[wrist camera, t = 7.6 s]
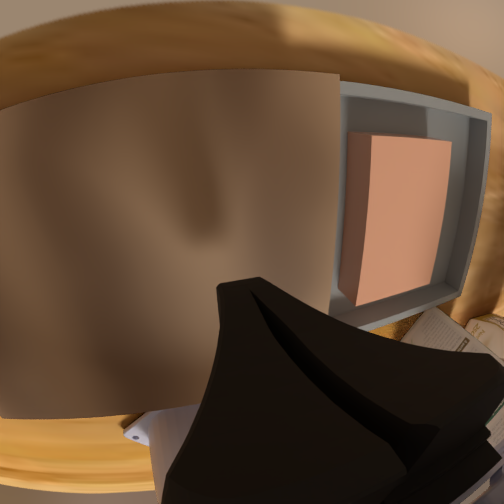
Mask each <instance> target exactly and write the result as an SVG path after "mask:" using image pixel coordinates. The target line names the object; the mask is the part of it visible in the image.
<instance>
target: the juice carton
mask: <svg viewBox="0 0 504 504" xmlns="http://www.w3.org/2000/svg"><path fill="white" fill-rule="evenodd" d="M465 330H467V331H468V332H469V333H470V334H472V335H473V336H474V337H475V338H476V339H478V340H479V341H480V342H481V343H483V344H484V345H485V346H486V347H487V348H489V349H490V350H491V351H492V352H493V353H495V354H496V355H497V356H498V357H499V358H500V359H502V360H503V361H504V317H502V316H499V315H497V314H493V313H491V314H487V315H484V316H480V317H476V318H473V319H470V320H469V322H468V323H467V325H466V327H465Z"/></svg>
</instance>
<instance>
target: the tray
mask: <svg viewBox="0 0 504 504" xmlns="http://www.w3.org/2000/svg"><path fill="white" fill-rule="evenodd" d="M491 122H492V114H491V113H488V112H485V111H482V110H479V109H476V108H473V107H469V106H466V105H462V104H459V103H455V102H452V101H448V100H444V99H440V98H436V97H432V96H427V95H423V94H418V93H414V92H409V91H404V90H399V89H393V88H388V87H382V86H376V85H369V84H362V83H355V82H346V81H340V169H339V193H338V211H337V227H336V241H335V253H334V264H333V275H332V285H331V294H330V303H329V311H328V315H329V316H331V317H333V318H335V319H337V320H339V321H342V322H344V323H346V324H349V325H351V326H354V327H357V328H359V329H362V330H365V331H370V330H373V329H376V328H379V327H382V326H385V325H387V324H390V323H393V322H396V321H399V320H401V319H404V318H407V317H409V316H412V315H415V314H417V313H420V312H423V311H425V310H428V309H430V308H433V307H435V306H438V305H440V304H443V303H445V302H448V301H450V300H452V299H455V298H457V297H459V296H461V293H462V290H463V286H464V283H465V280H466V276H467V273H468V269H469V265H470V262H471V258H472V254H473V250H474V245H475V241H476V237H477V232H478V227H479V222H480V217H481V212H482V206H483V200H484V194H485V187H486V180H487V172H488V163H489V153H490V140H491ZM348 131H351V132H376V133H393V134H406V135H418V136H428V137H433V138H437V139H442V140H446V141H451V142H452V145H451V159H450V170H449V179H448V188H447V195H446V203H445V209H444V216H443V222H442V228H441V233H440V239H439V244H438V249H437V254H436V258H435V263H434V267H433V271H432V276H431V280H430V284H427V285H424V286H421V287H418V288H415V289H412V290H409V291H405V292H402V293H399V294H396V295H393V296H389V297H386V298H383V299H380V300H376V301H373V302H369V303H366V304H363V305H359V306H355V305H354V304H353V303H352V302H351V301H350V300H349V299H348V298H347V297H346V296H345V295H344V294H343V293H342V292H341V291H340V290H339V289H338V283H339V273H340V264H341V253H342V241H343V229H344V214H345V197H346V176H347V140H348Z"/></svg>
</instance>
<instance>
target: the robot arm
mask: <svg viewBox="0 0 504 504" xmlns="http://www.w3.org/2000/svg"><path fill="white" fill-rule="evenodd" d="M216 293H217V303H218V313H219V323H220V329H219V336H218V343H217V349H216V354H215V358H214V362H213V366H212V370H211V374H210V377H209V380H208V384H207V387H206V390H205V393H204V396H203V399H202V401H201V403H200V404H195V405H189V406H183V407H177V408H171V409H165V410H158V411H150V412H146V413H145V414H143V415H142V416H141V417H140V418H138V419H137V420H136V421H134V422H133V423H132V424H131V425H129V426H128V427H127V428H125V429H124V430H123V433H124V436H125V437H126V438H129V439H131V440H134V441H136V442H139V443H141V444H144V445H147V446H149V447H150V455H151V463H152V470H153V477H154V483H155V490H156V496H157V502H158V504H460V503H461V502H462V501H464V500H465V499H466V498H467V497H468V496H470V495H471V494H472V493H473V492H474V491H476V490H477V489H478V488H479V487H480V486H481V485H482V484H483V483H485V482H486V481H487V480H488V479H489V478H490V486H489V488H488V489H487V490H486V491H484V492H483V493H482V494H481V495H480V496H478V497H477V498H476V499H475V500H473V501H472V502H471V503H470V504H504V439H503V440H502V441H501V442H500V443H499V444H498V445H496V446H495V447H493V446H492V445H491V444H490V443H489V442H488V441H487V439H488V438H489V437H490V436H491V431H490V430H489V429H488V428H487V427H486V426H485V424H486V423H487V421H488V420H489V419H490V417H491V416H492V415H493V413H494V412H495V410H496V409H497V408H498V406H499V405H500V403H501V402H502V400H503V399H504V366H502V365H501V364H500V363H499V362H498V361H497V360H496V359H495V358H494V357H493V356H491V355H490V354H489V353H474V352H459V351H448V350H441V349H435V348H428V347H423V346H418V345H413V344H408V343H404V342H401V341H397V340H393V339H389V338H386V337H382V336H379V335H376V334H373V333H370V332H367V331H365V330H362V329H359V328H357V327H354V326H351V325H349V324H346V323H344V322H342V321H339V320H337V319H335V318H333V317H331V316H329V315H327V314H325V313H323V312H321V311H319V310H317V309H315V308H313V307H311V306H309V305H307V304H306V303H304V302H302V301H300V300H299V299H297V298H295V297H293V296H292V295H290V294H288V293H287V292H285V291H283V290H282V289H280V288H278V287H277V286H275V285H273V284H272V283H270V282H268V281H267V280H265V279H263V278H261V277H260V276H259V277H254V278H248V279H242V280H236V281H230V282H224V283H219V284H218V286H217V287H216Z"/></svg>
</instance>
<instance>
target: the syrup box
mask: <svg viewBox="0 0 504 504" xmlns="http://www.w3.org/2000/svg"><path fill="white" fill-rule="evenodd" d="M401 342H404V343H408V344H413V345H418V346H423V347H428V348H435V349H441V350H448V351H459V352H474V353H489V354H490V355H491V356H493V357H494V358H495V359H496V360H497V361H498V362H499V363H500V364H501V365H502V366H504V361H503V360H502V359H500V358H499V357H498V356H497V355H496V354H495V353H493V352H492V351H491V350H490V349H489V348H487V347H486V346H485V345H484V344H483V343H481V342H480V341H479V340H478V339H476V338H475V337H474V336H473V335H472V334H470V333H469V332H468V331H467V330H465V329H464V328H463V327H462V326H460V325H459V324H458V323H457V322H456V321H454V320H453V319H452V318H450V317H449V316H448V315H447V314H445V313H444V312H443V311H441V310H440V309H439V308H437V307H436V306H435V307H433V308H430V309H428V310H425V311H424V312H423V314H422V315H421V316H420V317H419V318H418V320H417V321H416V322H415V323H414V325H413V326H412V327H411V328H410V329H409V331H408V332H407V333H406V334H405V336H404V337H403V338H402V339H401ZM485 426H486V427H487V428H488V429H489V430H490V431H491V436H490V437H489V438H488V439H487V441H488V442H489V443H490V444H491V445H492V446H493V447H495V446H496V445H498V444H499V443H500V442H501V441H502V440H503V439H504V399H503V400H502V402H501V403H500V405H499V406H498V408H497V409H496V410H495V412H494V413H493V415H492V416H491V417H490V419H489V420H488V421H487V423H486V424H485Z"/></svg>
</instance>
